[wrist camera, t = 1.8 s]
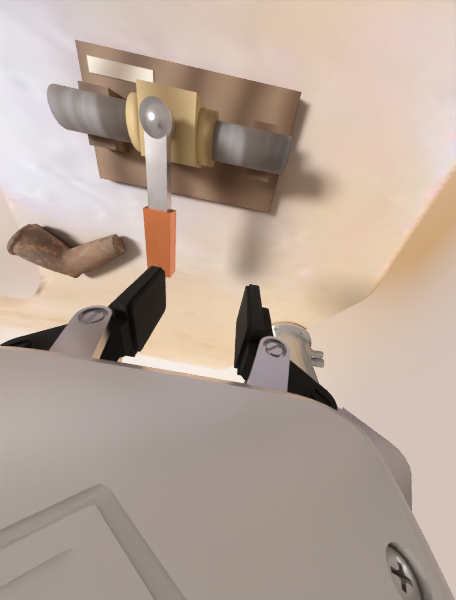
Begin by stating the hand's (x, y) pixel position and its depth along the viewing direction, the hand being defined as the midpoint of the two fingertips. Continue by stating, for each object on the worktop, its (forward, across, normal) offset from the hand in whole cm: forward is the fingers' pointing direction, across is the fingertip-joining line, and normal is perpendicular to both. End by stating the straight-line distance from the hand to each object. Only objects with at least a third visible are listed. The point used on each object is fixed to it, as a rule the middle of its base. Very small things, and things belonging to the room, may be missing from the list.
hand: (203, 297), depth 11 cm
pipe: (+22, +25, +8) cm, 34 cm away
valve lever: (+11, +7, -3) cm, 13 cm away
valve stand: (+21, +6, -9) cm, 24 cm away
